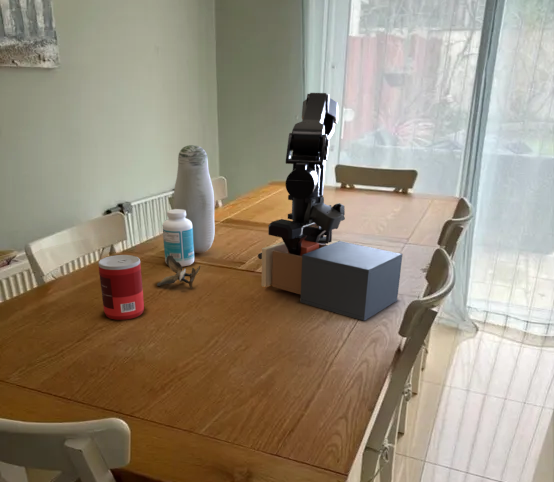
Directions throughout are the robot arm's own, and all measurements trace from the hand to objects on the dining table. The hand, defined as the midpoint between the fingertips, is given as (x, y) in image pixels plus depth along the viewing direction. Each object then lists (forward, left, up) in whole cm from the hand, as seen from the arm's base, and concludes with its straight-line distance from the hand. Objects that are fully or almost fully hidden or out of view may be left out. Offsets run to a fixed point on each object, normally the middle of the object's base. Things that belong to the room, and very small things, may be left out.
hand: (303, 261), depth 123 cm
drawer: (-1, 0, -6) cm, 6 cm away
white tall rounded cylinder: (-39, +5, -7) cm, 40 cm away
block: (0, 0, -1) cm, 1 cm away
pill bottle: (-35, -5, -7) cm, 36 cm away
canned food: (-19, -35, -7) cm, 40 cm away
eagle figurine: (-23, -17, -7) cm, 29 cm away
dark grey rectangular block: (+13, 0, -7) cm, 14 cm away
